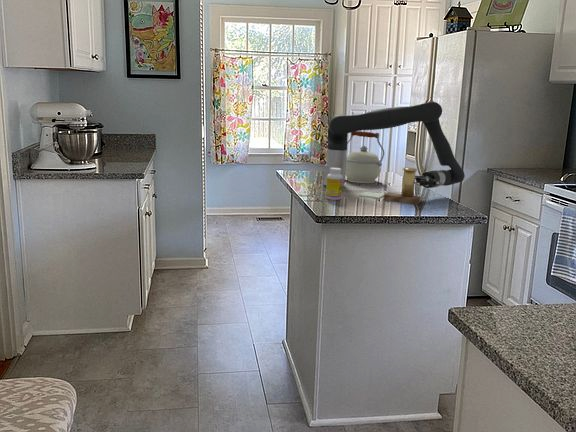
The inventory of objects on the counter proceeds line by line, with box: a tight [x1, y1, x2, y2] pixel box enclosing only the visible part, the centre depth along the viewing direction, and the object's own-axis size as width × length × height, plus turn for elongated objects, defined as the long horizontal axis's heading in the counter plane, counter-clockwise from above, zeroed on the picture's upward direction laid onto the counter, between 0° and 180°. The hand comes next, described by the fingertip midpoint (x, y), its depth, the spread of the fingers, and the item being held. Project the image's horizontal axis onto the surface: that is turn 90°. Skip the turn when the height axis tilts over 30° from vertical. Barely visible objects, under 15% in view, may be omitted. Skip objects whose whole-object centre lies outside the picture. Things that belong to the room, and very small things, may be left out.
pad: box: [358, 191, 386, 200], centre depth 246 cm, size 9×9×1 cm
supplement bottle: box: [325, 168, 343, 201], centre depth 234 cm, size 7×7×13 cm
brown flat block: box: [382, 191, 421, 206], centre depth 238 cm, size 14×7×2 cm, turn 66°
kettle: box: [345, 130, 385, 184], centre depth 281 cm, size 25×18×25 cm
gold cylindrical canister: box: [401, 166, 418, 197], centre depth 236 cm, size 6×6×12 cm
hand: (412, 181), depth 238 cm, fingers open, 8 cm apart
